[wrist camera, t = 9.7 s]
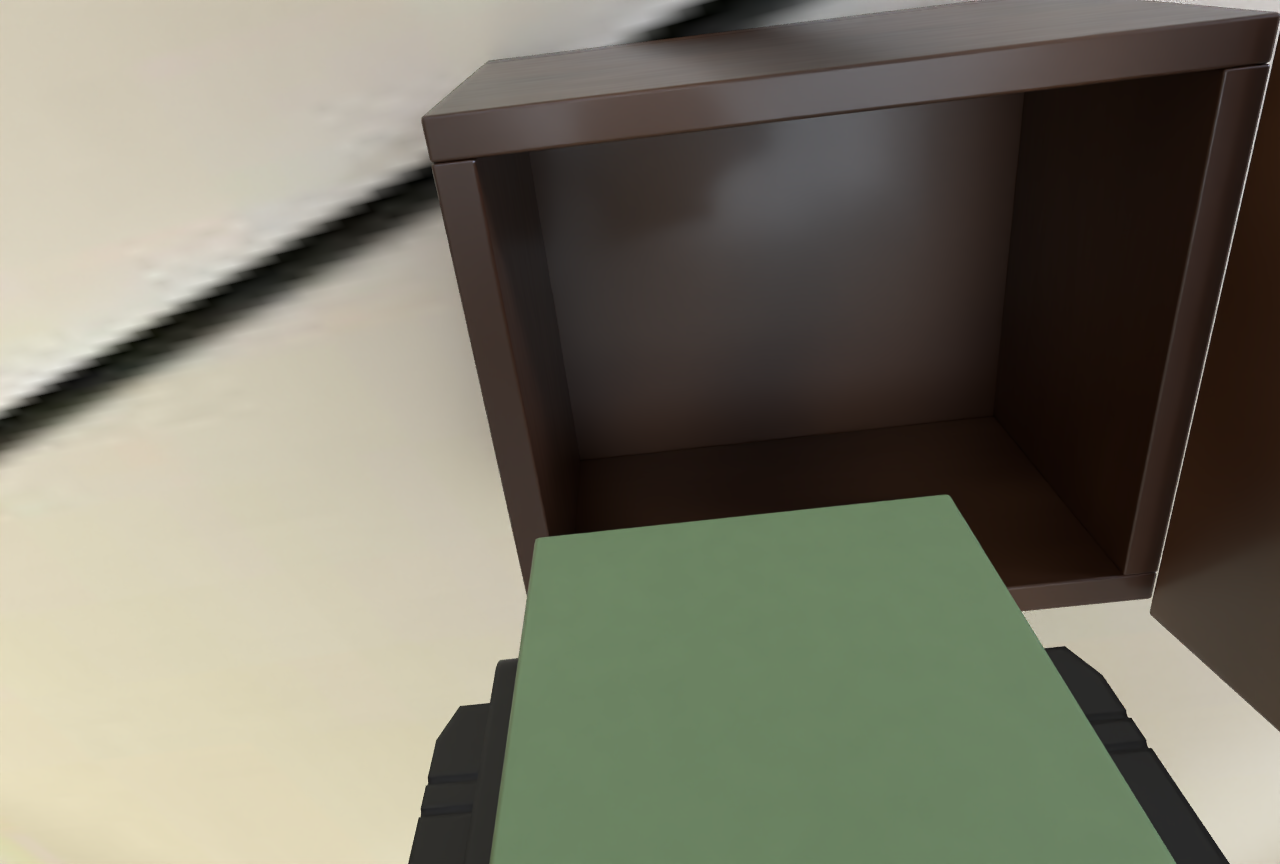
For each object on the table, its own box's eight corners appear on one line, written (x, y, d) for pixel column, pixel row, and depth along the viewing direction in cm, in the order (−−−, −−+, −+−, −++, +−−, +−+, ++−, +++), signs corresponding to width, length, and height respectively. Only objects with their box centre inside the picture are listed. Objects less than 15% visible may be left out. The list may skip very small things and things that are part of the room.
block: (534, 536, 11) (474, 950, 6) (950, 491, 10) (1194, 885, 6) (592, 809, 13) (577, 1249, 9) (930, 778, 13) (1094, 1208, 8)
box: (560, 471, 29) (540, 660, 21) (485, 60, 23) (419, 117, 15) (1006, 423, 28) (1152, 599, 21) (1051, -9, 22) (1284, 12, 14)
